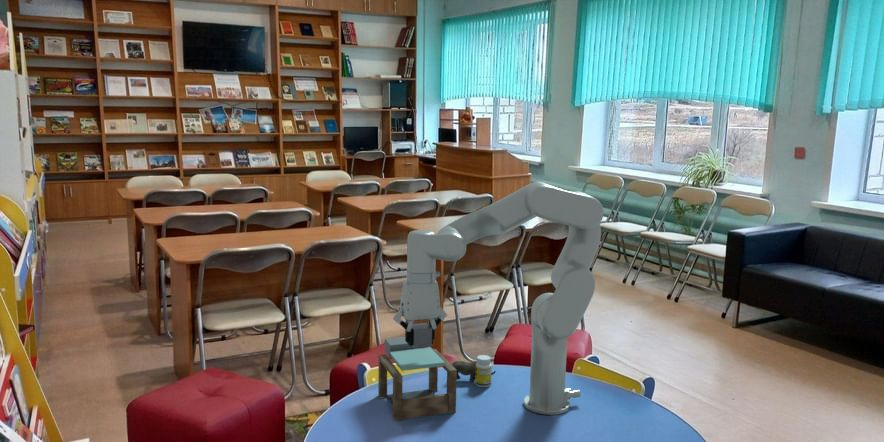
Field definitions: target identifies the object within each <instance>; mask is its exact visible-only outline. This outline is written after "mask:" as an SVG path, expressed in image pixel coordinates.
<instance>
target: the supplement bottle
mask: <svg viewBox="0 0 884 442" xmlns="http://www.w3.org/2000/svg"><path fill="white" fill-rule="evenodd" d="M476 362H477V363H476V375H475V379H474V383H475V385H476V386H477V387H479V388H488V387H491V385H492V375H491V372H492V371H491V370H492V363H491V356H489V355H486V354H485V355H484V354H479V355H477V357H476Z"/></svg>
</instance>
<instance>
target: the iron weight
mask: <svg viewBox="0 0 884 442" xmlns="http://www.w3.org/2000/svg"><path fill="white" fill-rule="evenodd" d="M411 331H412V332H413V345H412V347H413V348H422V347H431V348H432V346H433V344H432V328H431V327H430V326H429V323H427V322H420V323H413V325H412V328H411Z"/></svg>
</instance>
